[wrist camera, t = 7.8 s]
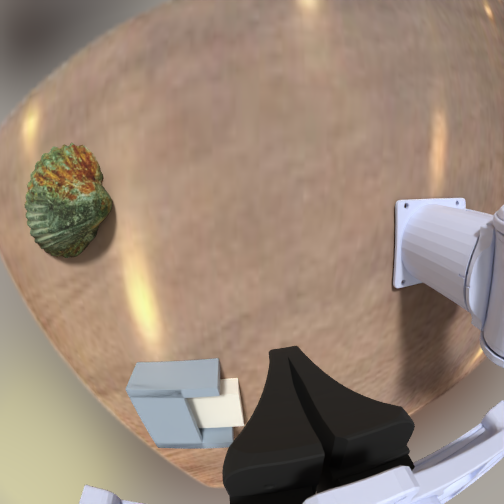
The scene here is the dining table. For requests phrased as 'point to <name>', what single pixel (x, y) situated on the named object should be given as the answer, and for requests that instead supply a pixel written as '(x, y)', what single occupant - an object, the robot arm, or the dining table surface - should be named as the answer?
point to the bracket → (177, 402)
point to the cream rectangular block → (219, 407)
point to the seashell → (66, 200)
